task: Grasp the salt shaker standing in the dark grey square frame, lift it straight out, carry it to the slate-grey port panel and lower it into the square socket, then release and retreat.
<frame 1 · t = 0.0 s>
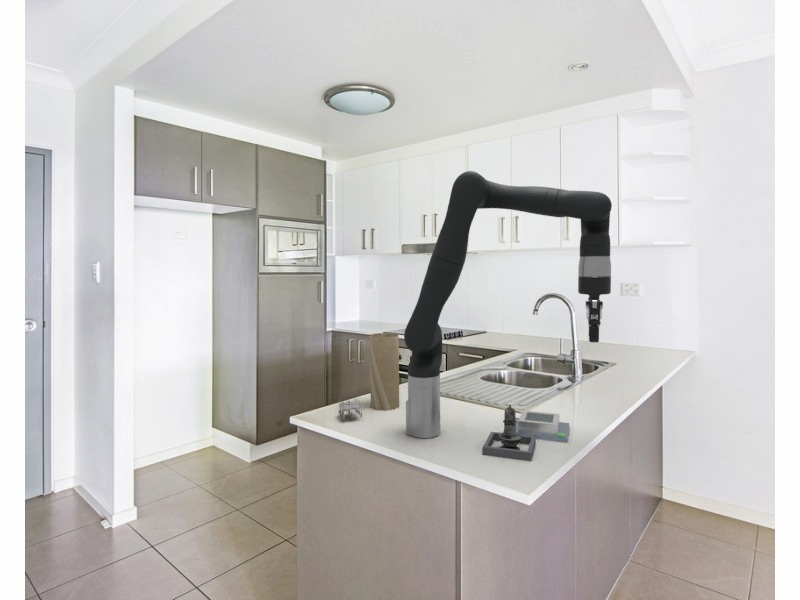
hand: (593, 339, 117), 29 cm above the countertop, fingers open, 8 cm apart
building frame: (349, 419, 150), on the countertop
dark grey square frame: (509, 449, 123), on the countertop
tube: (385, 406, 163), on the countertop
port panel: (539, 430, 136), on the countertop
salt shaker: (509, 449, 123), resting in dark grey square frame
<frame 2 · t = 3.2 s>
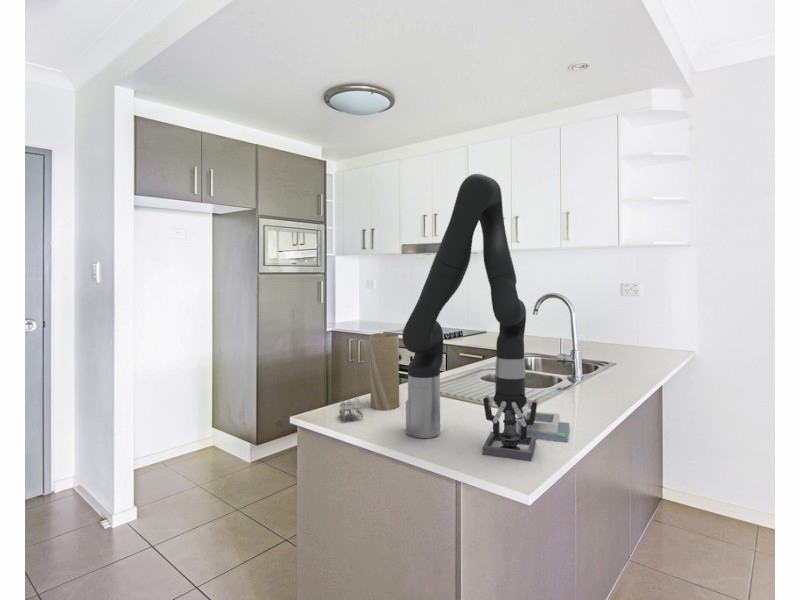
hand: (510, 437, 123), 3 cm above the countertop, fingers closed on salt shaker, 6 cm apart
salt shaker: (509, 449, 123), resting in dark grey square frame, touching gripper
everything else where it was.
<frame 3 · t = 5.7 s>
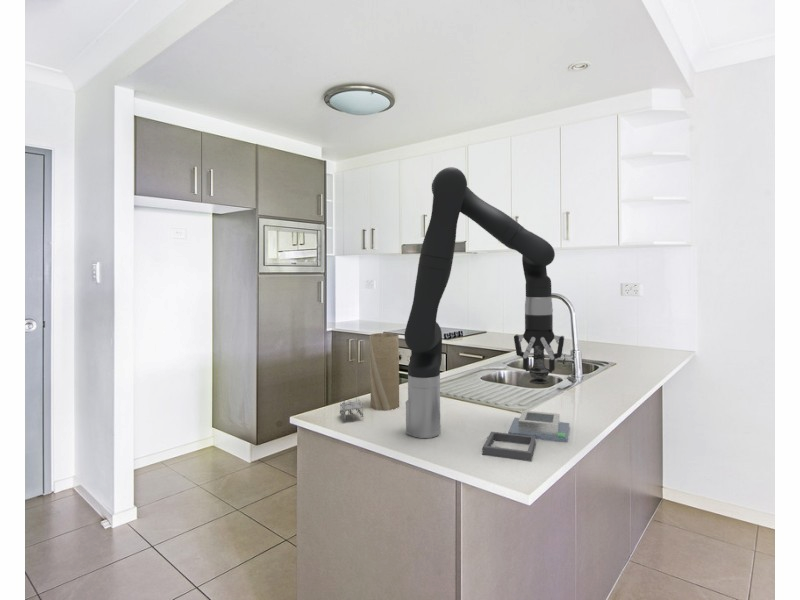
hand: (539, 371, 133), 18 cm above the countertop, fingers closed on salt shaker, 6 cm apart
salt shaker: (539, 382, 133), point 15 cm above the countertop, touching gripper
everything else where it was.
when the fingers open (5 cm above the countertop, at t = 8.2 s): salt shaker drops 1 cm, resting on port panel.
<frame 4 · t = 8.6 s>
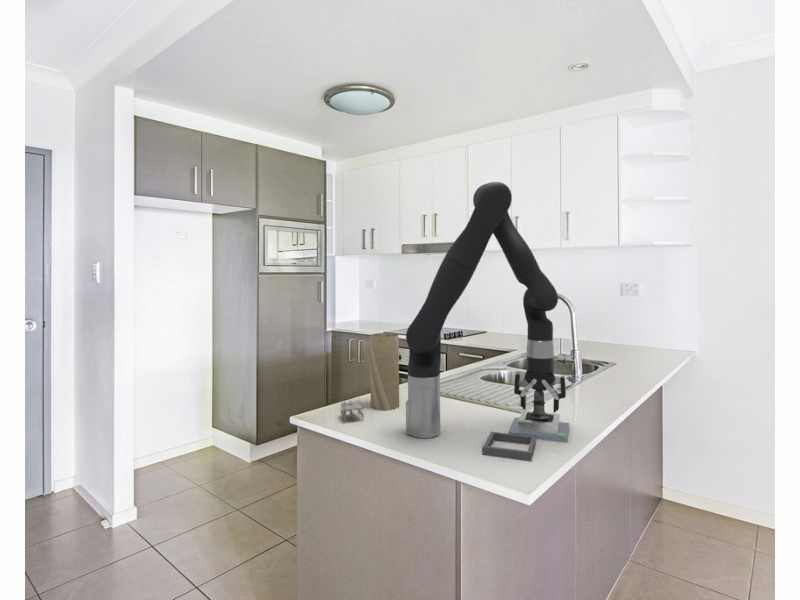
hand: (539, 410, 136), 6 cm above the countertop, fingers open, 8 cm apart
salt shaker: (538, 428, 136), point 1 cm above the countertop, touching port panel
everything else where it was.
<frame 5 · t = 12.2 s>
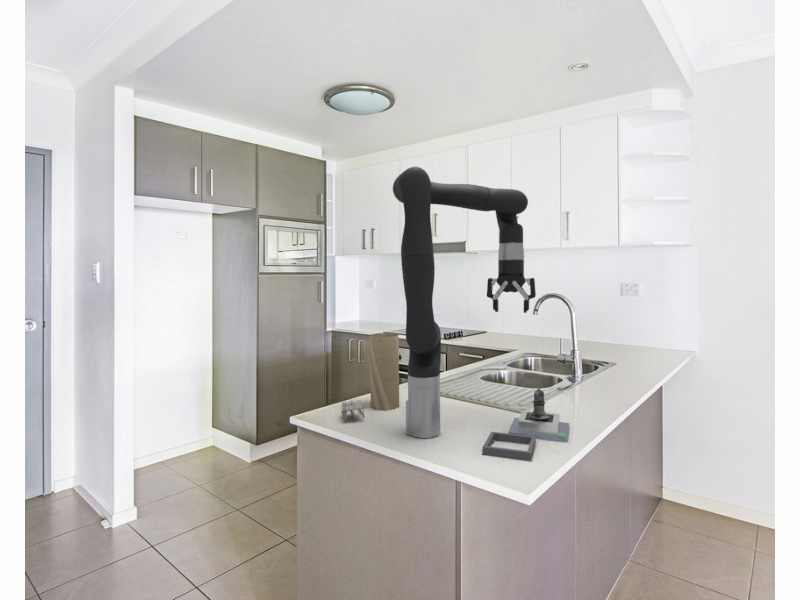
hand: (510, 312, 142), 34 cm above the countertop, fingers open, 8 cm apart
at the end: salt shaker 0.1 cm off-centre on the port panel, point 0.8 cm above the port panel's base; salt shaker tilted 0°; the gripper is holding nothing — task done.
